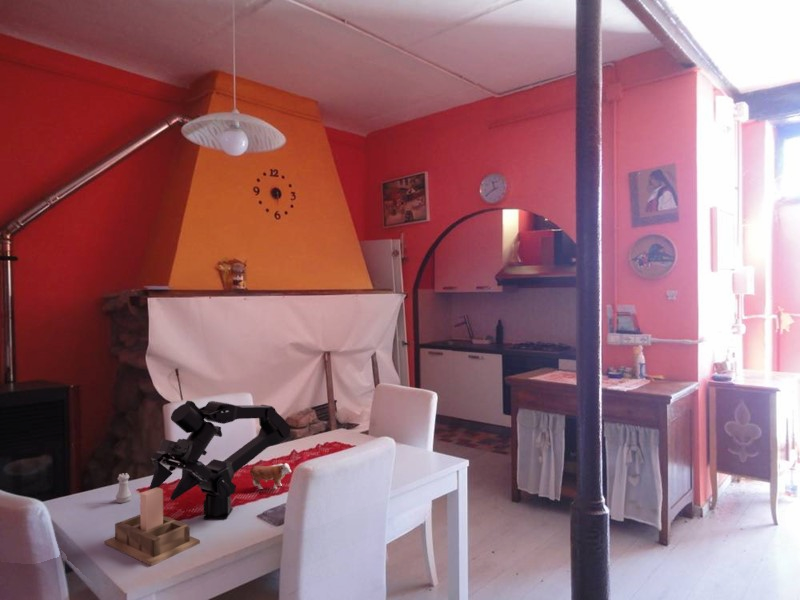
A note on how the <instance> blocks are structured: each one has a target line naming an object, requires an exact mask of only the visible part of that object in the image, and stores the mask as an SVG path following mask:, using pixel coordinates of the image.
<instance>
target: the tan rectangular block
mask: <svg viewBox="0 0 800 600" xmlns="http://www.w3.org/2000/svg"><path fill="white" fill-rule="evenodd" d="M139 494H140V495H139V496H140V497H139V501H140V502H139V504H140V505H139V507H140V509H139V510H140V514H139V515H140V520H141V530H142V531H147V530H149V529H152V528H154V527H157V526H159V525H162V524H163V516H164V490H163V488H160V487H156V488H153V489H150V490H149V489H148V490H145V491H142V492H140V493H139Z"/></svg>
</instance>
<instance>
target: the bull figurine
mask: <svg viewBox="0 0 800 600" xmlns="http://www.w3.org/2000/svg"><path fill="white" fill-rule="evenodd" d="M249 474H250V477H251V480H252V484H253V486H255V487H256V486H258V487H257V488H258V490H260V489H263V490H264V487H263V486H262V485H261V483H260V482H261V479H262V480H263V481H264V482H265V483H267V482H268V481H270V480H273V483H274V485H273V489H274V490H277V489H278V487H280V486H282V485H283V484H282V483H281V481H282V480H283V478H285V476H286V475H289V474H292V470H291V467H290V463H286V462H285V463H278V464H273V465H269V466H268V465H267V466H266V465H265V466H263V465H261V466H260V465H258V466H254V465H253V466H252V467H251V468H250V470H249ZM277 484H278V487H277ZM282 487H283V486H282Z"/></svg>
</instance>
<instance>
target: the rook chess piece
mask: <svg viewBox="0 0 800 600" xmlns="http://www.w3.org/2000/svg"><path fill="white" fill-rule="evenodd" d="M129 478H130V475H129V473H127V472H126V473H119V474H118V477H117V480H118V490H117V491H118V492H117V494H116V496H115V502H116V503H118V504H125V503H128V502H130V501H131V500H132V498H133V497H132V492H131V491H130V489H129V482H130V481H129Z"/></svg>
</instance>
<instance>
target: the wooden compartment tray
mask: <svg viewBox="0 0 800 600" xmlns="http://www.w3.org/2000/svg"><path fill="white" fill-rule="evenodd" d="M190 533H191V532H190V524H187V523H184V522H181V521H179V520H176V519H174V518H172V517H168V516H165V515H163V524H162V525H159V526H157V527H154V528H152V529H149V530H147V531H142V530H141V520H140V514H137V515H135V516H132V517H129V518H127V519H125V520H122V521H119V522H116V523H114V536H113V537H111V538H109V539H106V540H104V545H106V546H109V547H110V548H113V549H115V550H117V551H118V552H121V551H122V552H121V553H123V552H124V553H123V554H125V553H126V554H125V555H127V554H128V555H127V556H129V555H130V557H131V558H134V559H136V560H138V559H139V561H141V562H142V561H143V563H145V564H146V563H147V565H149V566H151V567H152V566H154V565H156V564H158V563H160V562H163V561H164V560H167V559H170V558H172V557H173V556H175V555H178V554H180V553H182V552H185V551H186V550H188V549H191V548H193V547H194V546H197V545H199V544H200V543H201V540H200V539H198V538H196V537H194V536H190Z"/></svg>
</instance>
